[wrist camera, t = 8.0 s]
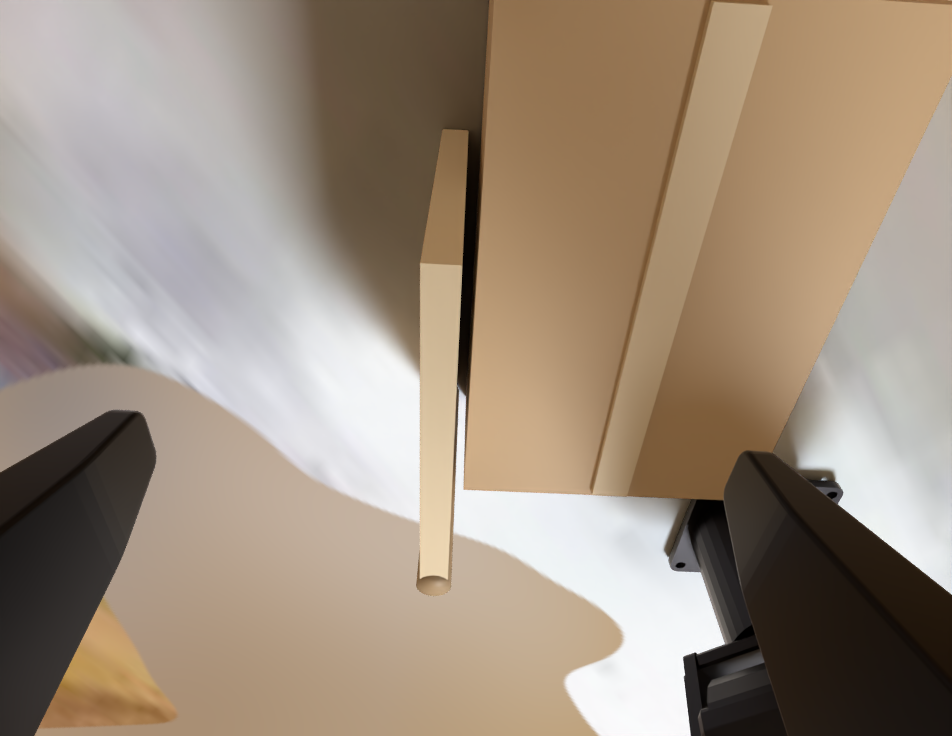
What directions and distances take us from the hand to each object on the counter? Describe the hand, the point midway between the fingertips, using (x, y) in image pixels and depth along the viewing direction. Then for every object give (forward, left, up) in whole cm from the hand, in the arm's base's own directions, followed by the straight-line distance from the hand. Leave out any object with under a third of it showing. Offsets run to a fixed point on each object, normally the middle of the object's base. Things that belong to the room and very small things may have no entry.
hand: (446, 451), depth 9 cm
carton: (-2, -5, -13) cm, 14 cm away
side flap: (-4, 0, -13) cm, 13 cm away
